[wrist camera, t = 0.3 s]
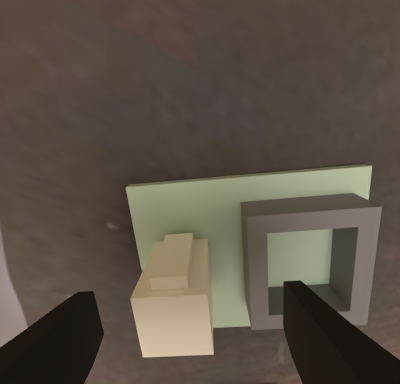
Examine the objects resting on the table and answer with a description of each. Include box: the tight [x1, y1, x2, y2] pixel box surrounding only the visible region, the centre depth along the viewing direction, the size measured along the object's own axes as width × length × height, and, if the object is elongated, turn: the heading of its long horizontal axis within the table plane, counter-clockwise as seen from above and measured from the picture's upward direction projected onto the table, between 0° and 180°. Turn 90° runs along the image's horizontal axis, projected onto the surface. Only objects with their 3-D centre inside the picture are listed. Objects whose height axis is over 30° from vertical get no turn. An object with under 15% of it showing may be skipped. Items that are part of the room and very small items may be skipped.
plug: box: [130, 233, 214, 357], centre depth 15 cm, size 5×4×6 cm
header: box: [126, 164, 382, 330], centre depth 17 cm, size 13×17×4 cm
